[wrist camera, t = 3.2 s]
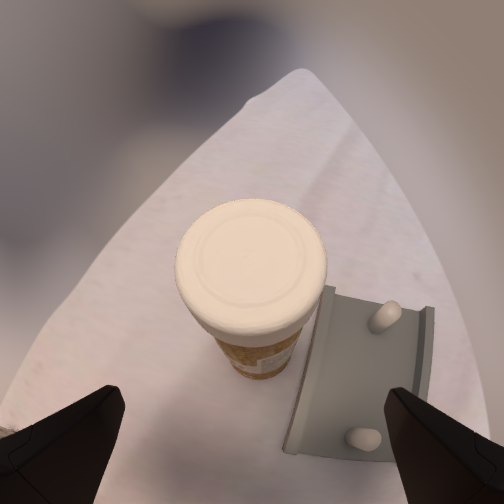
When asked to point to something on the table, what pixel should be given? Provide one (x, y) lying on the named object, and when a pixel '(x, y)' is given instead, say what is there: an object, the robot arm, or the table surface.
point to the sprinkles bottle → (252, 280)
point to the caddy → (358, 376)
